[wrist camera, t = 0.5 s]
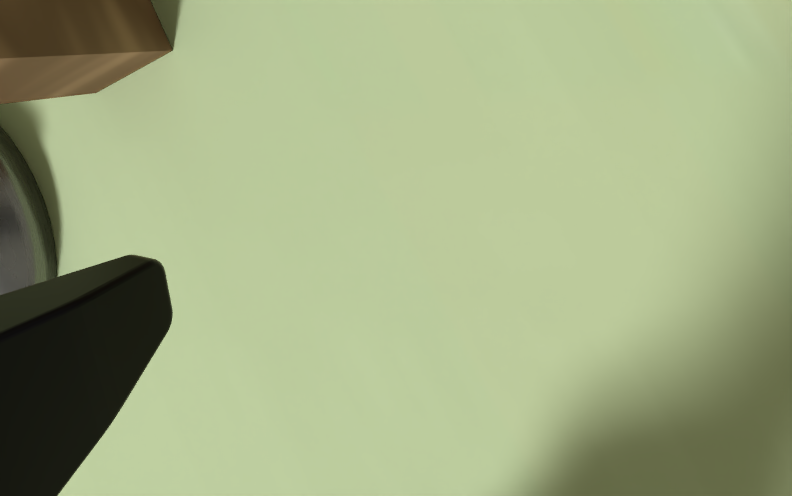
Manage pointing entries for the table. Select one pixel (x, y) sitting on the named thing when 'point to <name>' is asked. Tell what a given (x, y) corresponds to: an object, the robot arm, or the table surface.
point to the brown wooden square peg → (74, 45)
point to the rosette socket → (22, 224)
